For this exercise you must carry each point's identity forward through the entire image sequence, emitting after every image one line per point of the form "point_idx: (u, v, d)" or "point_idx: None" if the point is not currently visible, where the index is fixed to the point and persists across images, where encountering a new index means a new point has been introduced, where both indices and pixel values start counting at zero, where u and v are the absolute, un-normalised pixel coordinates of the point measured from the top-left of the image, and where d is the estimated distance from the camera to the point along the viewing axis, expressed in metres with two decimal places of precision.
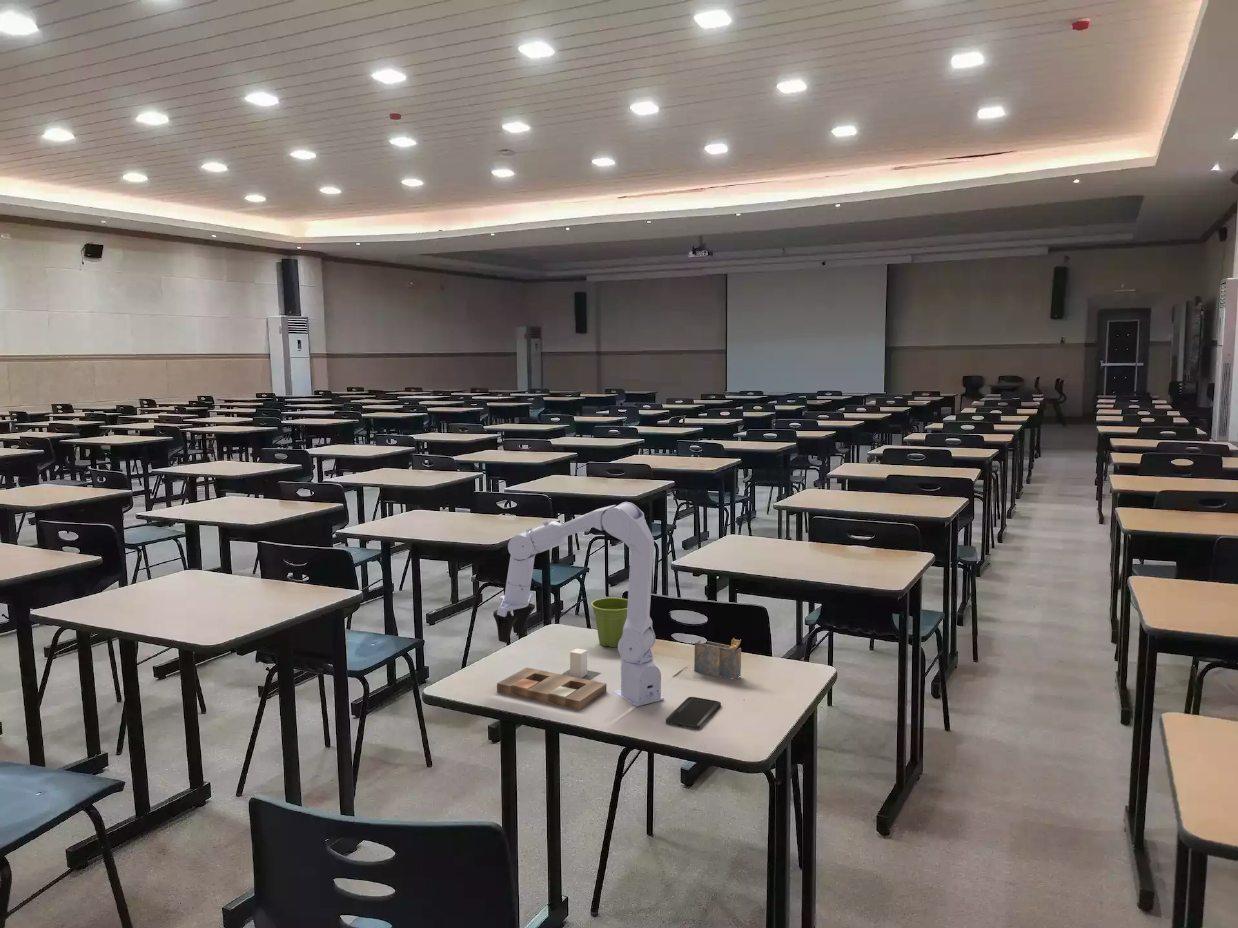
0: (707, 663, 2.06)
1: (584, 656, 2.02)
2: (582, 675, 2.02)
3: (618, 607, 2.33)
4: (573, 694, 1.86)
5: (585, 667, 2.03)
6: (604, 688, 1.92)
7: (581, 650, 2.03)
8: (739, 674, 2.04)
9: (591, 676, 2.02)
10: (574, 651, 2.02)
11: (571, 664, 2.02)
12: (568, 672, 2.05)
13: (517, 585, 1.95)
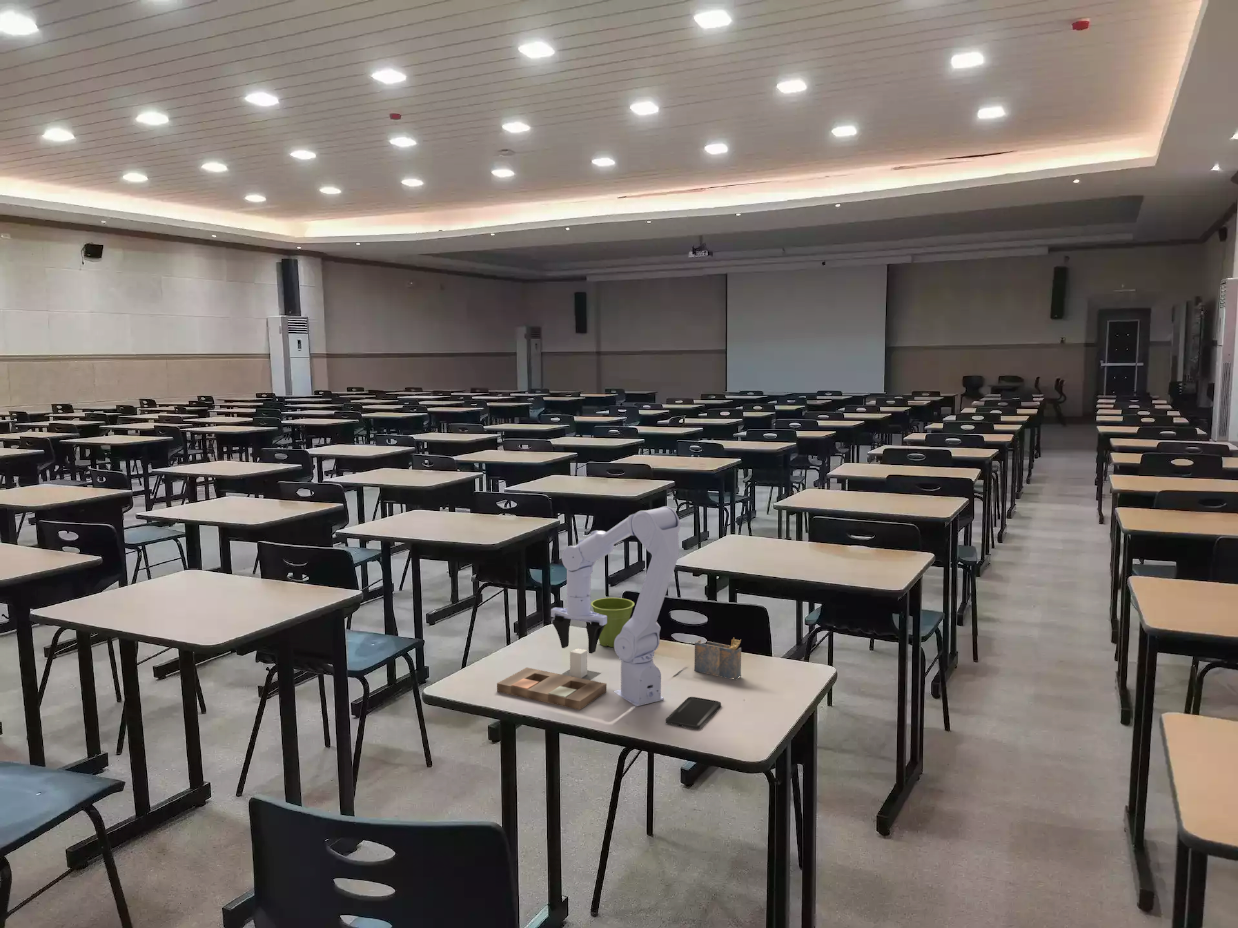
0: (707, 663, 2.06)
1: (584, 656, 2.02)
2: (582, 675, 2.02)
3: (618, 607, 2.33)
4: (573, 694, 1.86)
5: (585, 667, 2.03)
6: (604, 688, 1.92)
7: (581, 650, 2.03)
8: (739, 674, 2.04)
9: (591, 676, 2.02)
10: (574, 651, 2.02)
11: (571, 664, 2.02)
12: (568, 672, 2.05)
13: None
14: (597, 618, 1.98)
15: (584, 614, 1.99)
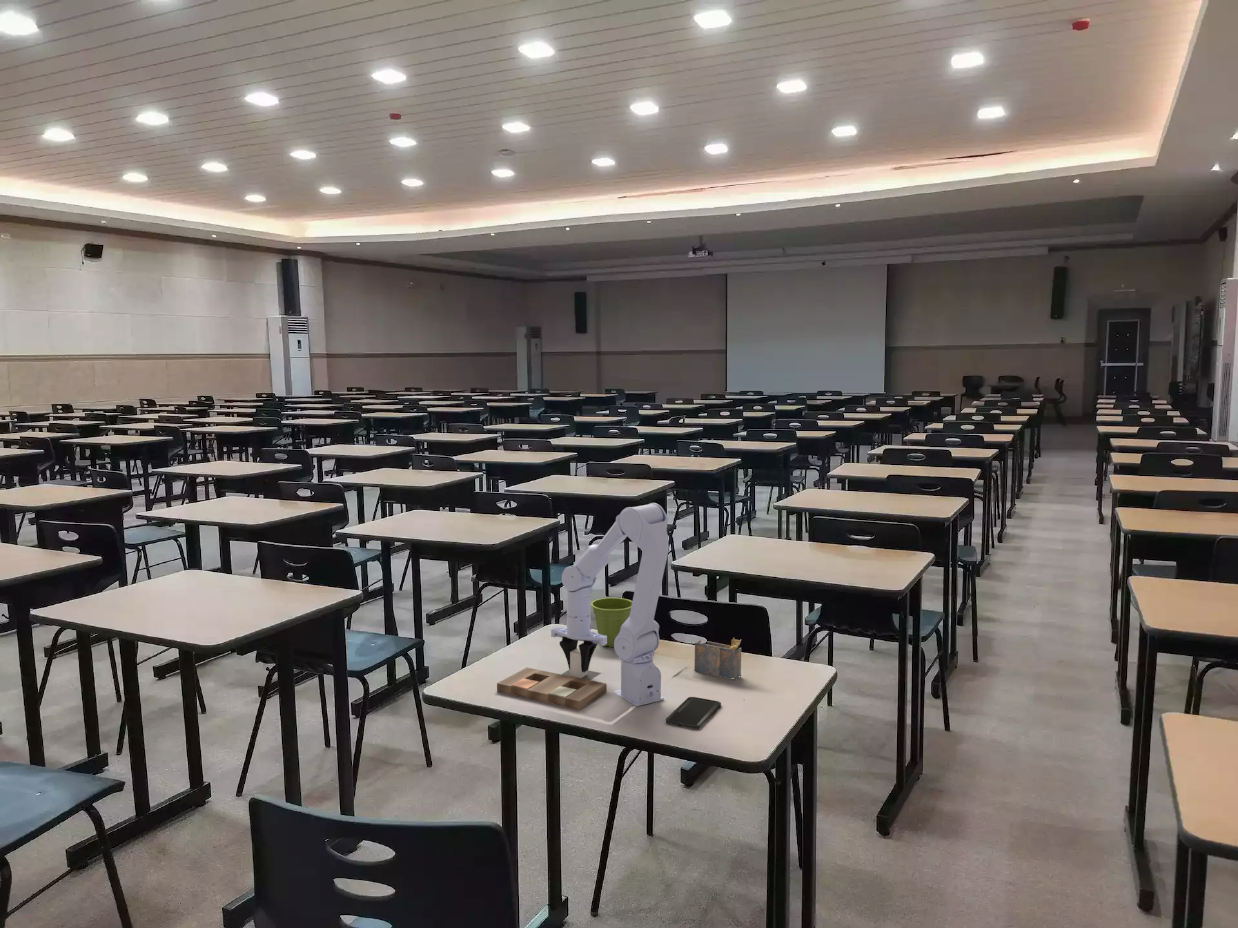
0: (707, 663, 2.06)
1: None
2: (582, 675, 2.02)
3: (618, 607, 2.33)
4: (573, 694, 1.86)
5: None
6: (604, 688, 1.92)
7: None
8: (739, 674, 2.04)
9: (591, 676, 2.02)
10: (574, 651, 2.02)
11: (571, 664, 2.02)
12: (568, 672, 2.05)
13: None
14: (597, 638, 1.98)
15: (584, 634, 1.99)
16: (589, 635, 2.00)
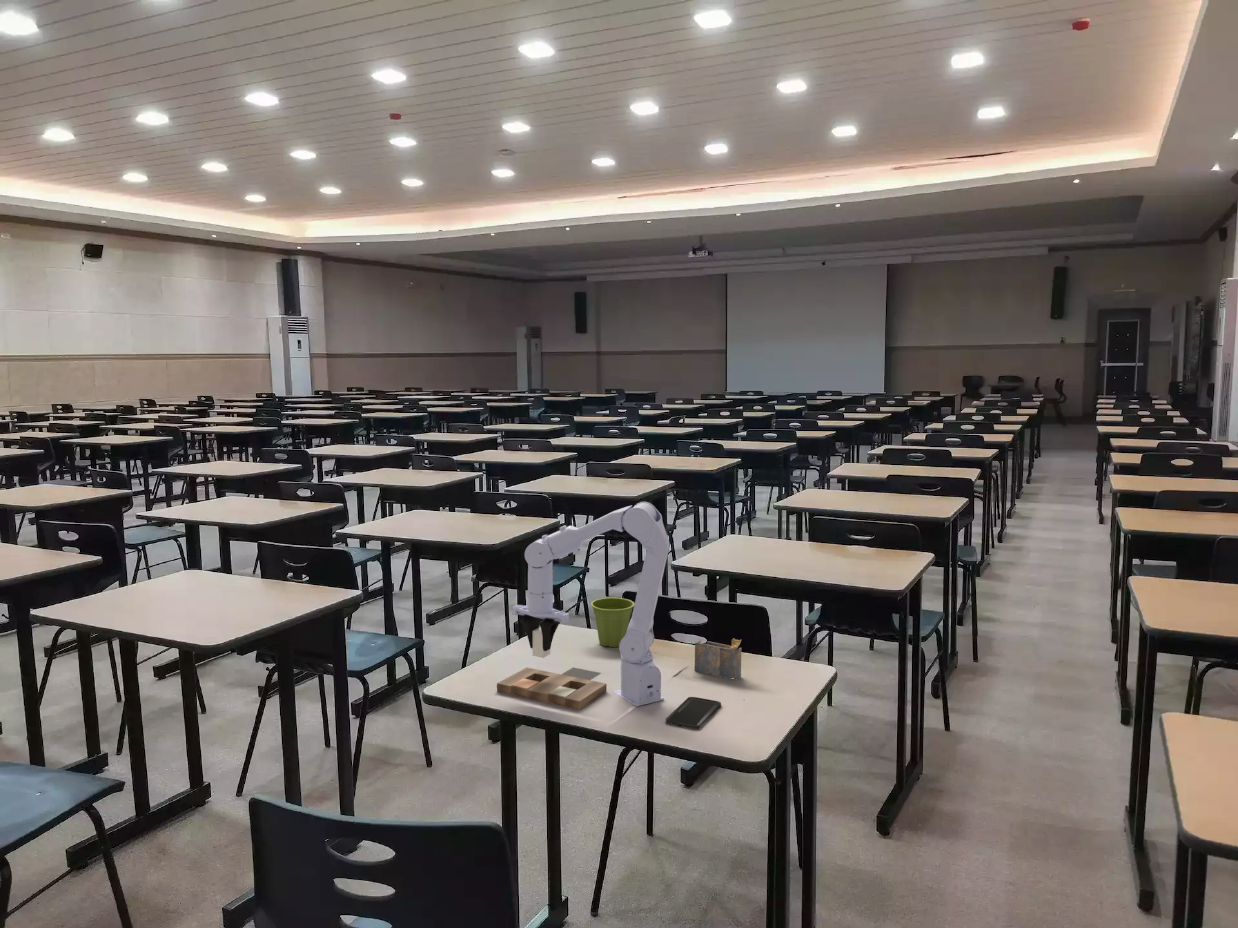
0: (707, 663, 2.06)
1: None
2: (545, 655, 1.95)
3: (618, 607, 2.33)
4: (573, 694, 1.86)
5: None
6: (604, 688, 1.92)
7: None
8: (739, 674, 2.04)
9: (591, 676, 2.02)
10: (537, 630, 1.95)
11: (533, 644, 1.95)
12: (568, 672, 2.05)
13: None
14: (559, 616, 1.91)
15: (545, 612, 1.92)
16: (551, 612, 1.93)
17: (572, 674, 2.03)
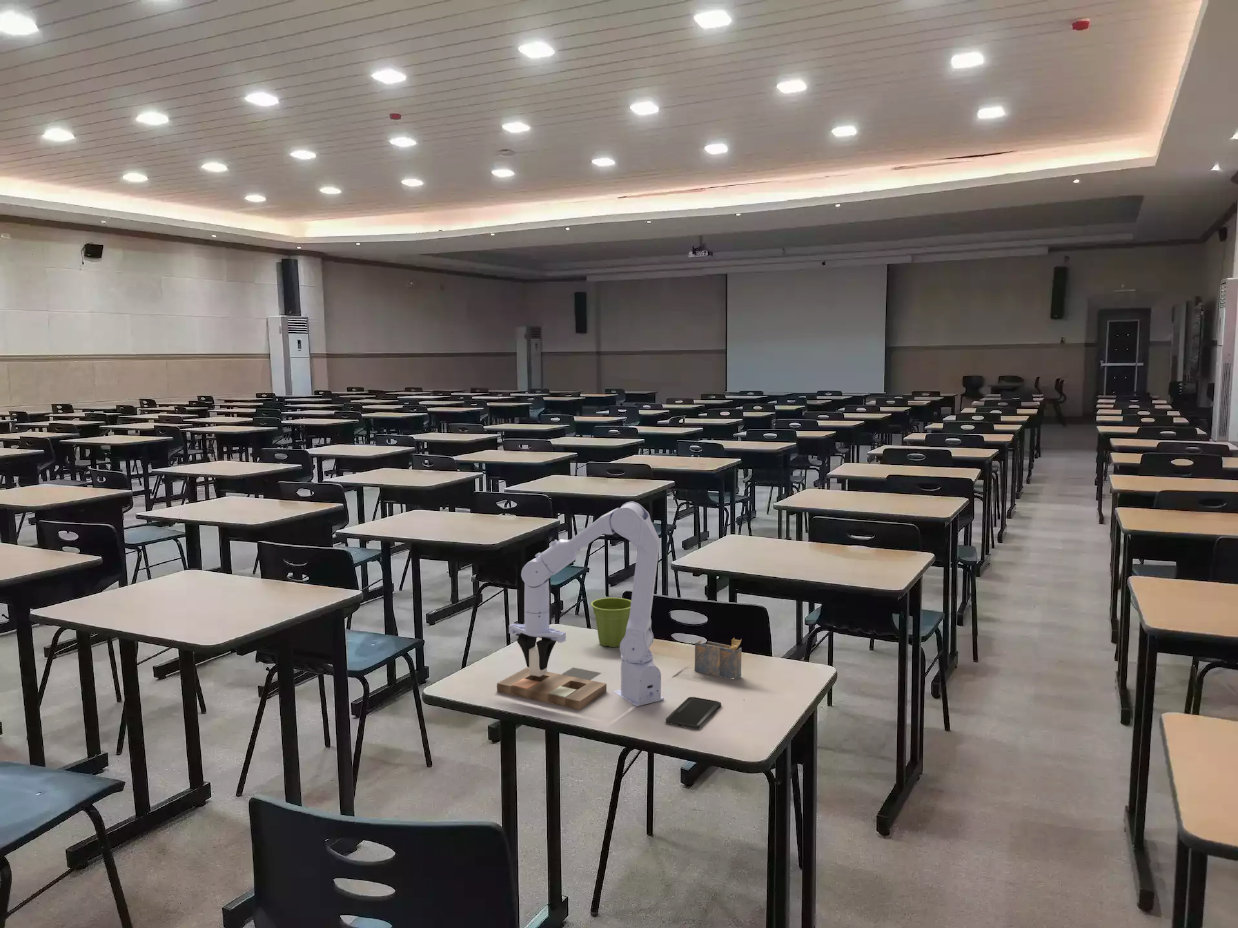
0: (707, 663, 2.06)
1: None
2: (541, 674, 1.95)
3: (618, 607, 2.33)
4: (573, 694, 1.86)
5: None
6: (604, 688, 1.92)
7: None
8: (739, 674, 2.04)
9: (591, 676, 2.02)
10: (533, 649, 1.95)
11: (530, 662, 1.95)
12: (568, 672, 2.05)
13: None
14: (555, 635, 1.91)
15: (542, 631, 1.92)
16: (547, 632, 1.93)
17: (572, 674, 2.03)
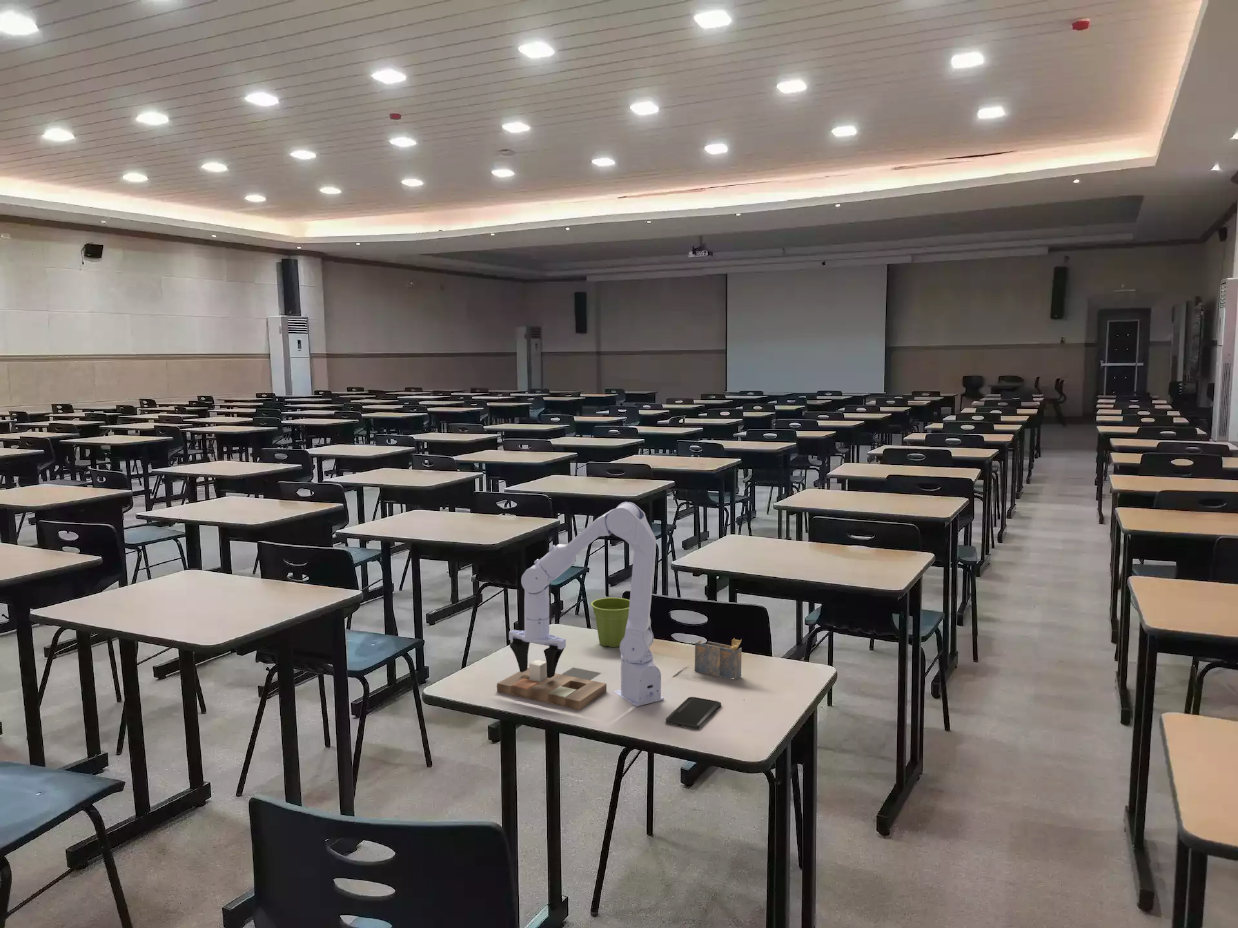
0: (707, 663, 2.06)
1: (543, 668, 1.95)
2: None
3: (618, 607, 2.33)
4: (573, 694, 1.86)
5: None
6: (604, 688, 1.92)
7: (541, 662, 1.96)
8: (739, 674, 2.04)
9: (591, 676, 2.02)
10: (533, 663, 1.96)
11: (530, 676, 1.95)
12: (568, 672, 2.05)
13: None
14: (555, 642, 1.91)
15: (542, 637, 1.92)
16: (547, 638, 1.93)
17: (572, 674, 2.03)
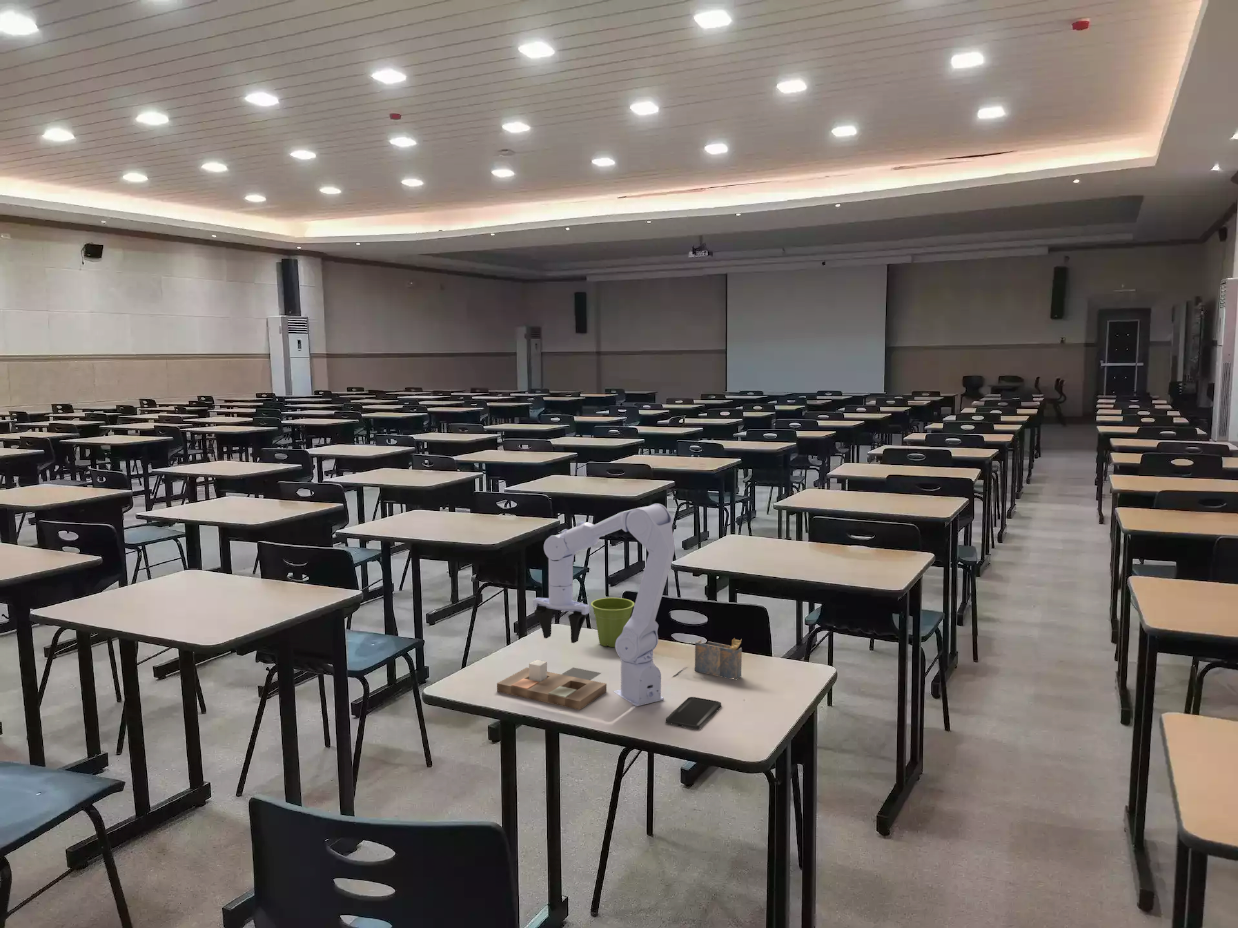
0: (708, 663, 2.06)
1: (543, 668, 1.95)
2: None
3: (618, 607, 2.33)
4: (573, 694, 1.86)
5: None
6: (604, 688, 1.92)
7: (540, 662, 1.96)
8: (740, 674, 2.04)
9: (591, 676, 2.02)
10: (533, 663, 1.96)
11: (530, 677, 1.95)
12: (568, 672, 2.05)
13: None
14: (579, 607, 1.97)
15: (566, 603, 1.98)
16: (571, 604, 1.99)
17: (572, 674, 2.03)
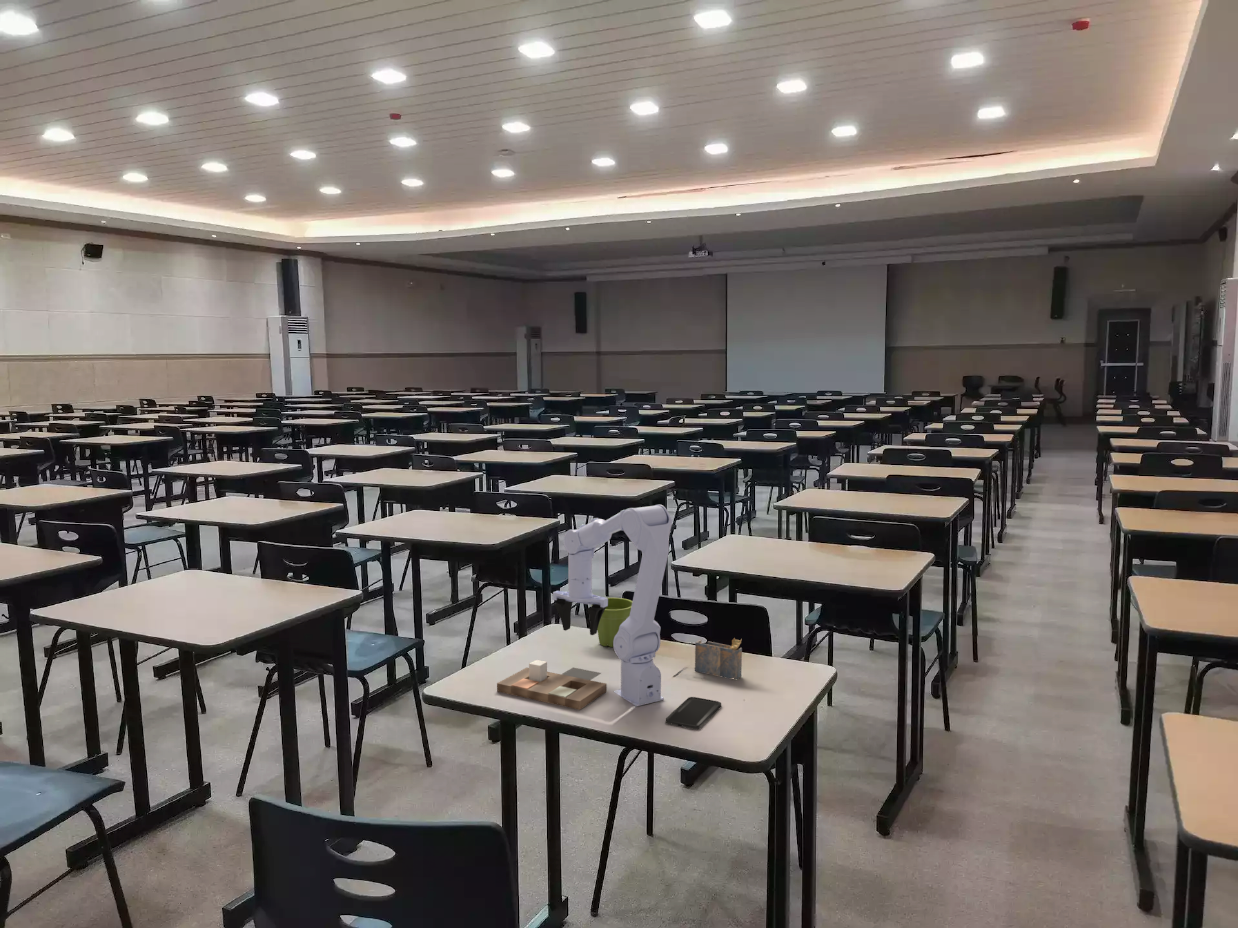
0: (708, 663, 2.06)
1: (543, 668, 1.95)
2: None
3: (618, 607, 2.33)
4: (573, 694, 1.86)
5: None
6: (604, 688, 1.92)
7: (541, 662, 1.96)
8: (740, 674, 2.04)
9: (591, 676, 2.02)
10: (533, 663, 1.96)
11: (530, 676, 1.95)
12: (568, 672, 2.05)
13: None
14: (598, 600, 2.02)
15: (585, 596, 2.03)
16: (590, 597, 2.04)
17: (572, 674, 2.03)
